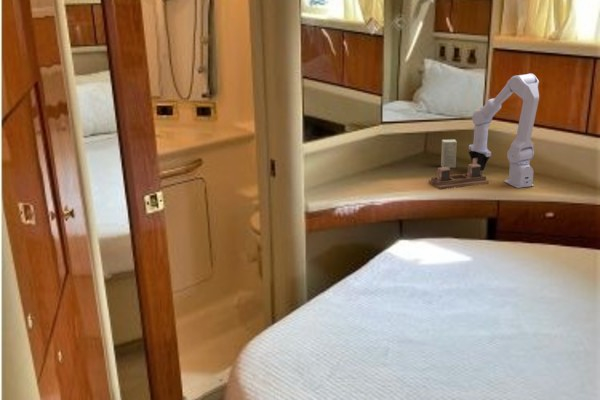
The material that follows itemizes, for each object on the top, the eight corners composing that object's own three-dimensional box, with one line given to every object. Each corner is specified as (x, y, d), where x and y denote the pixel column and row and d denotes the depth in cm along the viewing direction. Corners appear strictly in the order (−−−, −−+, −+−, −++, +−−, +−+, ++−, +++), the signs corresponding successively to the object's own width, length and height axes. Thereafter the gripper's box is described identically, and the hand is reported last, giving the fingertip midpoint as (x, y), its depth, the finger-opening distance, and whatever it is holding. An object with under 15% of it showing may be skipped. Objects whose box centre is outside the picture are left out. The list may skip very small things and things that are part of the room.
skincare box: (454, 165, 268) (455, 139, 264) (455, 167, 264) (457, 141, 260) (440, 165, 269) (441, 139, 265) (441, 167, 265) (443, 141, 260)
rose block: (484, 172, 256) (485, 159, 254) (476, 173, 255) (477, 160, 253) (479, 170, 259) (480, 157, 257) (471, 171, 258) (472, 158, 256)
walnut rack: (488, 183, 242) (489, 167, 239) (440, 189, 236) (441, 172, 234) (475, 176, 251) (476, 161, 248) (428, 182, 245) (429, 166, 243)
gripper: (463, 135, 258) (461, 165, 262) (481, 143, 245) (479, 174, 249) (477, 134, 260) (475, 163, 264) (496, 141, 247) (493, 172, 251)
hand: (478, 168), depth 257 cm, fingers open, 4 cm apart
